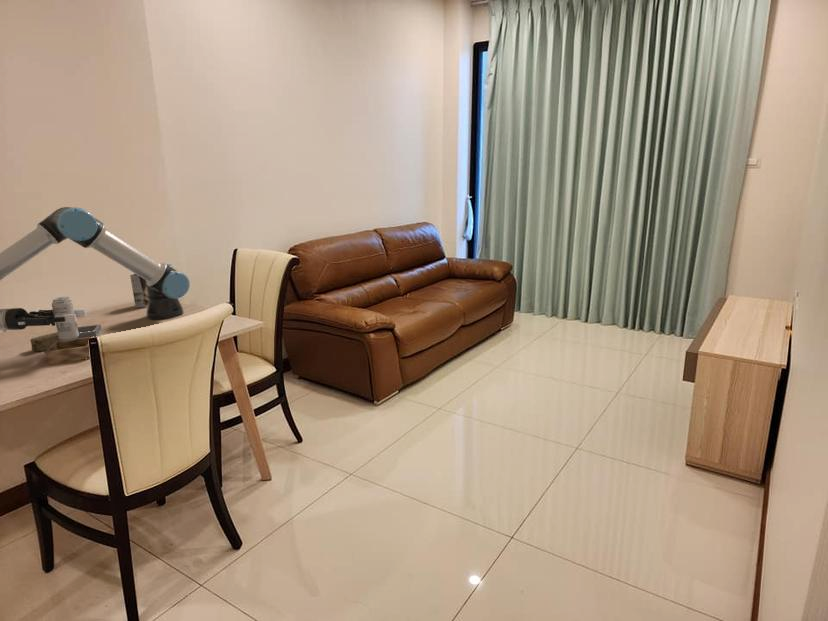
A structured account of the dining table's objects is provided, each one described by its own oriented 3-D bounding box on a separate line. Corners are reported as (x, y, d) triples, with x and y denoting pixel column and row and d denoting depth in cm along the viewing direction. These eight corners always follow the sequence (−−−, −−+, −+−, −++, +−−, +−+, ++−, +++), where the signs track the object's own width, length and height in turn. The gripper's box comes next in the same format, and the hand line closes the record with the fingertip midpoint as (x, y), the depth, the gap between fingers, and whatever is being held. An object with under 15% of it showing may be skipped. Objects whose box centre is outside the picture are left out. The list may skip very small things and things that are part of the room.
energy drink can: (83, 336, 188) (75, 296, 184) (70, 342, 182) (61, 300, 178) (69, 336, 189) (60, 296, 185) (55, 341, 183) (46, 300, 179)
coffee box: (146, 307, 252) (140, 275, 248) (135, 307, 253) (129, 274, 249) (159, 303, 261) (153, 271, 256) (147, 302, 262) (142, 271, 258)
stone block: (70, 344, 201) (68, 331, 200) (37, 353, 192) (34, 340, 190) (63, 342, 204) (60, 329, 203) (30, 351, 195) (27, 338, 193)
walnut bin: (97, 347, 195) (95, 336, 194) (90, 358, 183) (88, 346, 182) (57, 352, 191) (54, 341, 190) (47, 364, 179) (44, 352, 178)
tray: (101, 330, 218) (100, 324, 217) (96, 337, 208) (95, 331, 207) (71, 333, 214) (70, 327, 213) (64, 341, 204) (63, 335, 203)
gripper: (29, 322, 192) (95, 318, 194) (-5, 337, 173) (68, 333, 176) (25, 302, 190) (91, 298, 192) (-11, 316, 171) (63, 312, 174)
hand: (80, 315), depth 184 cm, fingers closed on energy drink can, 6 cm apart
